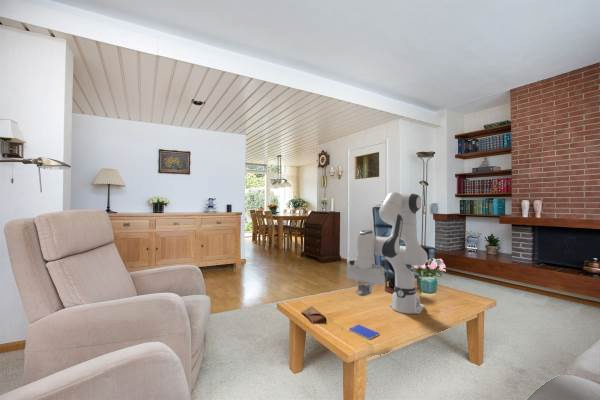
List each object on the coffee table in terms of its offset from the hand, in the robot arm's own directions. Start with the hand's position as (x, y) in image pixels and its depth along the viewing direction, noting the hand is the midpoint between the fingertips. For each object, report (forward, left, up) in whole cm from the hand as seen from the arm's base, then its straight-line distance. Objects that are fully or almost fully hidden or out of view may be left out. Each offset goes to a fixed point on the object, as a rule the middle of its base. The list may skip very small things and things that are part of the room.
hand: (365, 290), depth 143 cm
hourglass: (-78, -21, -21) cm, 84 cm away
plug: (+1, 0, -2) cm, 2 cm away
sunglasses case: (+4, -31, -22) cm, 38 cm away
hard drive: (0, 0, -22) cm, 22 cm away
